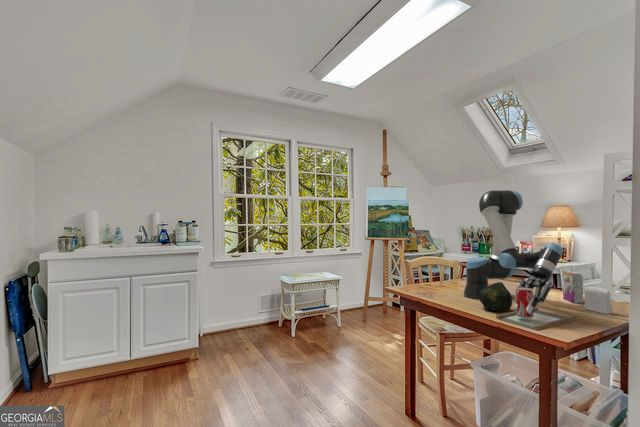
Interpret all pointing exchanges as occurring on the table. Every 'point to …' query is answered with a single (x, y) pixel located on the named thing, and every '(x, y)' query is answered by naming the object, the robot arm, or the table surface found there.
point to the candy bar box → (572, 287)
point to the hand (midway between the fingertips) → (522, 310)
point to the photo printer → (598, 300)
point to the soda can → (523, 301)
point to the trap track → (536, 319)
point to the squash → (496, 297)
